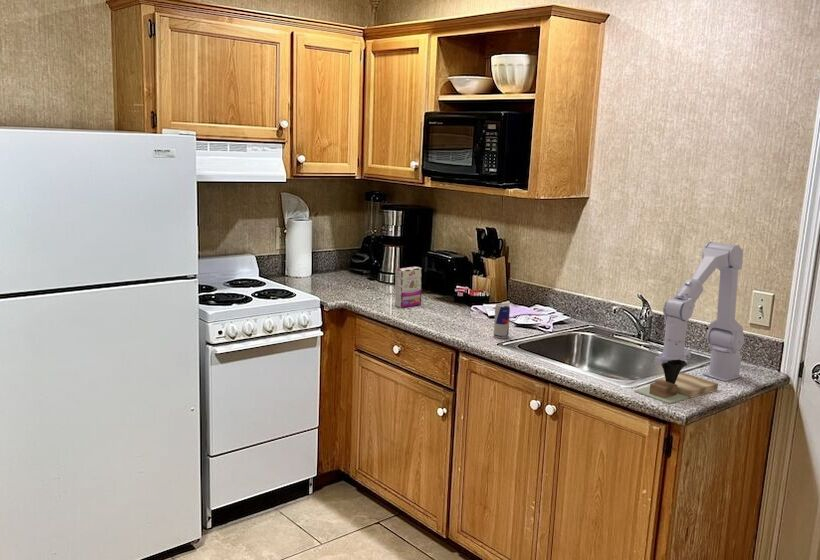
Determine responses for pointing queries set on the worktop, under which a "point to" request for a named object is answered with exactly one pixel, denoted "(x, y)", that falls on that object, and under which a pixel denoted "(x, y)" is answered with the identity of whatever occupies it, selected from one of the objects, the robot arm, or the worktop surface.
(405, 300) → the candy bar box
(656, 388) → the walnut block
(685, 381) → the birch board
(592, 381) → the worktop surface
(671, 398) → the sage mat
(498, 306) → the energy drink
